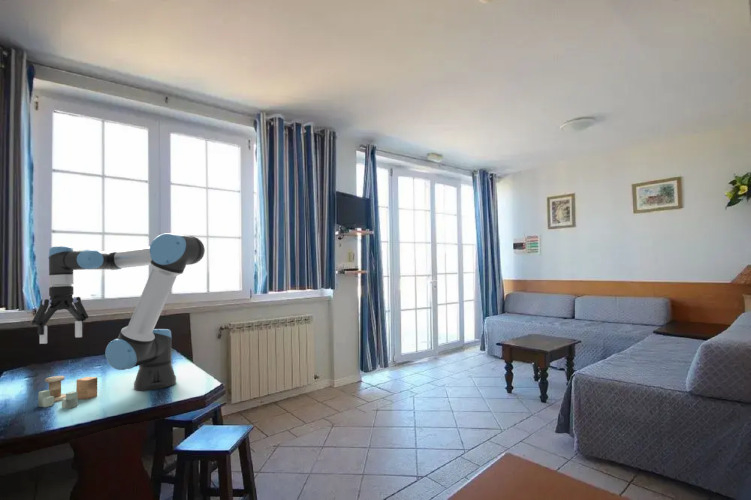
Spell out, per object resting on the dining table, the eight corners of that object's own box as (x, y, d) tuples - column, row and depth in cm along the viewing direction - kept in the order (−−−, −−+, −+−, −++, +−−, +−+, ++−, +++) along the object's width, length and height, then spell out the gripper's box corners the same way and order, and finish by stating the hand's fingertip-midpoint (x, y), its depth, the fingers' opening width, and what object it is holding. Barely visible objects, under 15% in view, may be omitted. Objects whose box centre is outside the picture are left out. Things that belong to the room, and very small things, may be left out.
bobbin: (71, 397, 148) (71, 375, 148) (52, 403, 141) (52, 380, 141) (56, 396, 149) (57, 374, 150) (37, 402, 143) (37, 379, 143)
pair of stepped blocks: (77, 406, 137) (77, 391, 137) (70, 408, 135) (70, 393, 135) (45, 404, 140) (45, 389, 140) (38, 406, 138) (38, 392, 138)
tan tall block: (97, 396, 148) (97, 377, 149) (87, 399, 144) (87, 380, 145) (86, 395, 149) (86, 376, 150) (76, 398, 146) (76, 379, 146)
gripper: (84, 284, 168) (84, 335, 166) (18, 287, 143) (18, 346, 142) (98, 284, 166) (98, 334, 165) (34, 286, 142) (34, 346, 140)
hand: (61, 340), depth 153 cm, fingers open, 13 cm apart
